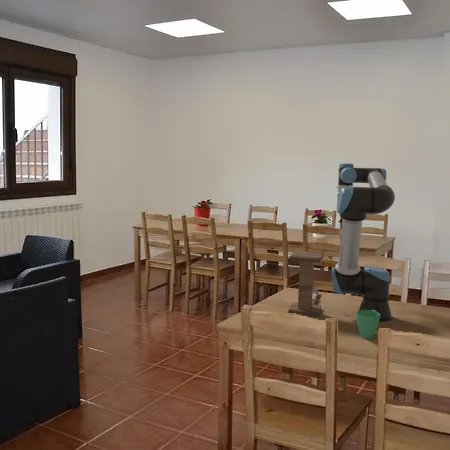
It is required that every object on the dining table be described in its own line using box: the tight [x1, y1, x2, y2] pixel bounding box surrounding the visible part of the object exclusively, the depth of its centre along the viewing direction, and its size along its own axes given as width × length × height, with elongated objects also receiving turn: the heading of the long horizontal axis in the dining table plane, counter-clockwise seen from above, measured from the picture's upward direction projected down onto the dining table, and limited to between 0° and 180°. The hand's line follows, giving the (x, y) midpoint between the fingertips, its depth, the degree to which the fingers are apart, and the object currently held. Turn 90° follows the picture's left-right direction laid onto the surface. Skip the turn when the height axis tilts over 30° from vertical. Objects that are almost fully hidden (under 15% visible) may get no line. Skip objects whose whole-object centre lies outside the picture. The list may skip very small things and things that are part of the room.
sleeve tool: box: [312, 287, 319, 305], centre depth 290 cm, size 22×5×3 cm, turn 163°
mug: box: [355, 309, 380, 339], centre depth 232 cm, size 15×10×10 cm
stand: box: [287, 250, 325, 318], centre depth 264 cm, size 16×14×28 cm
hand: (343, 233), depth 289 cm, fingers open, 13 cm apart
